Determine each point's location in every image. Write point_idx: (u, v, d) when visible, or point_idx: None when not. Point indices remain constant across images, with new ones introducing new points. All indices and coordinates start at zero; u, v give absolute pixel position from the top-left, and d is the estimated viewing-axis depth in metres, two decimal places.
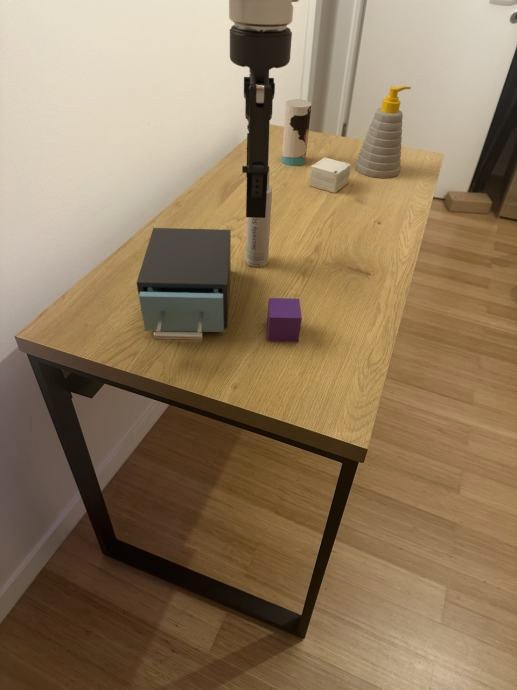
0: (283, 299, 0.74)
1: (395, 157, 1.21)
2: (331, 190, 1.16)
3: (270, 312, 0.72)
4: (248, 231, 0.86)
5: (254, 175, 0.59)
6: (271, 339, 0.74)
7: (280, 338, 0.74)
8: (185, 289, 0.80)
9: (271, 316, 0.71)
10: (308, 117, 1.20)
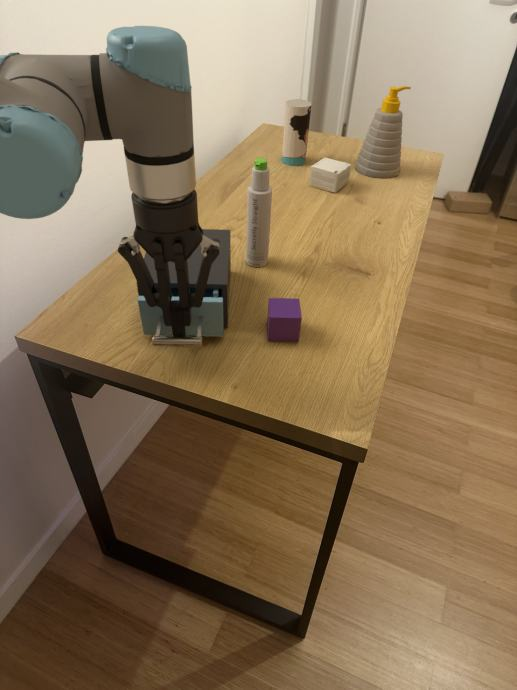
0: (283, 299, 0.74)
1: (395, 157, 1.21)
2: (331, 190, 1.16)
3: (270, 312, 0.72)
4: (248, 231, 0.86)
5: None
6: (271, 339, 0.74)
7: (280, 338, 0.74)
8: None
9: (271, 316, 0.71)
10: (308, 117, 1.20)
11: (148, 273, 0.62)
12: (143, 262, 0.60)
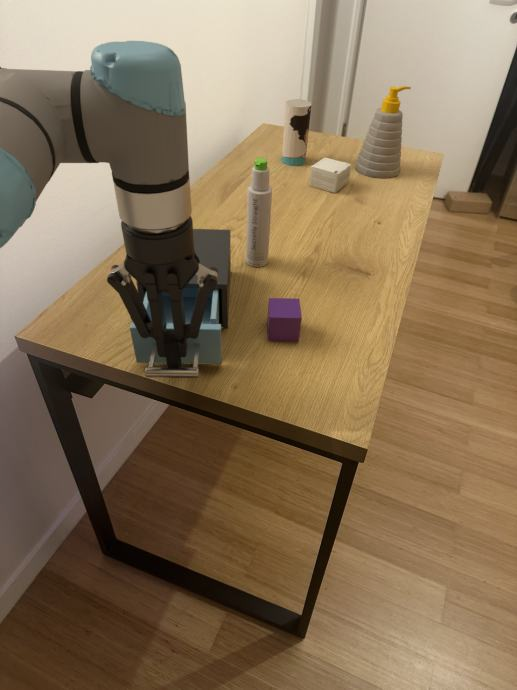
0: (283, 299, 0.74)
1: (395, 157, 1.21)
2: (331, 190, 1.16)
3: (270, 312, 0.72)
4: (248, 231, 0.86)
5: (186, 338, 0.60)
6: (271, 339, 0.74)
7: (280, 338, 0.74)
8: None
9: (271, 316, 0.71)
10: (308, 117, 1.20)
11: (140, 302, 0.57)
12: (135, 291, 0.56)
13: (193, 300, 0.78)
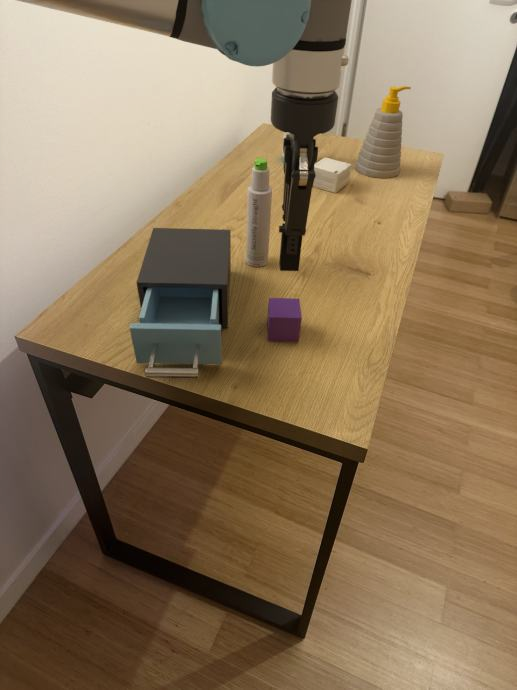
0: (283, 299, 0.74)
1: (395, 157, 1.21)
2: (331, 190, 1.16)
3: (270, 312, 0.72)
4: (248, 231, 0.86)
5: (290, 235, 0.62)
6: (271, 339, 0.74)
7: (280, 338, 0.74)
8: (180, 316, 0.75)
9: (271, 316, 0.71)
10: None
11: None
12: None
13: (193, 300, 0.78)
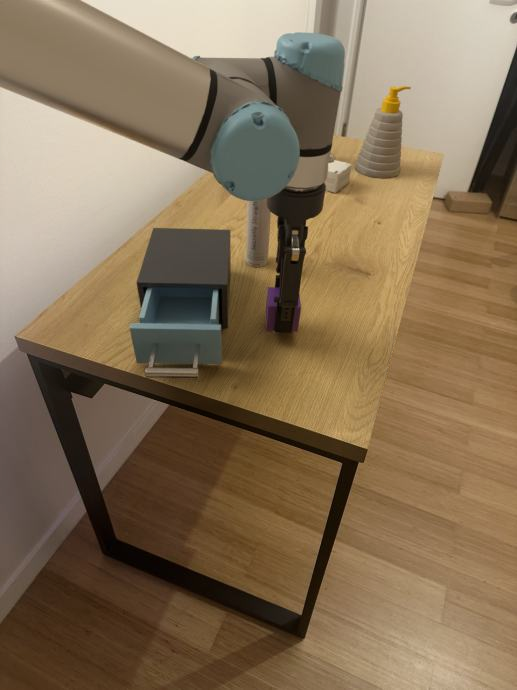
0: None
1: (395, 157, 1.21)
2: (332, 190, 1.16)
3: (269, 301, 0.70)
4: (248, 231, 0.86)
5: None
6: (270, 329, 0.73)
7: None
8: (180, 316, 0.75)
9: (270, 305, 0.70)
10: None
11: None
12: None
13: (193, 300, 0.78)
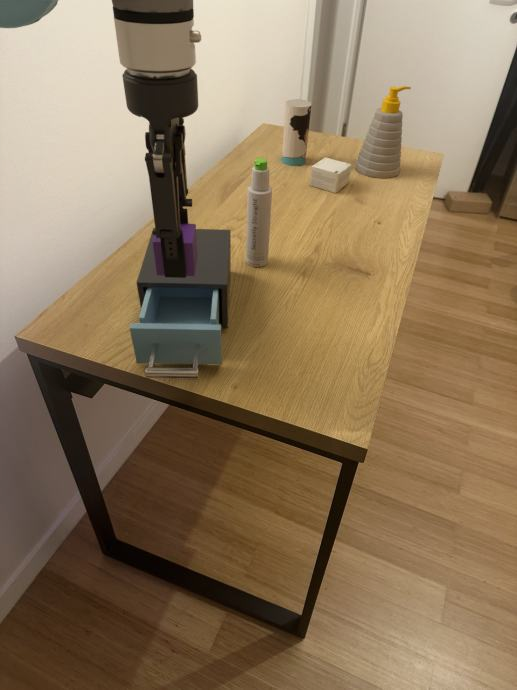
0: None
1: (395, 157, 1.21)
2: (332, 190, 1.16)
3: (154, 236, 0.58)
4: (248, 231, 0.86)
5: (166, 238, 0.55)
6: (160, 273, 0.61)
7: None
8: (180, 316, 0.75)
9: (154, 241, 0.58)
10: (308, 117, 1.20)
11: None
12: None
13: (193, 300, 0.78)
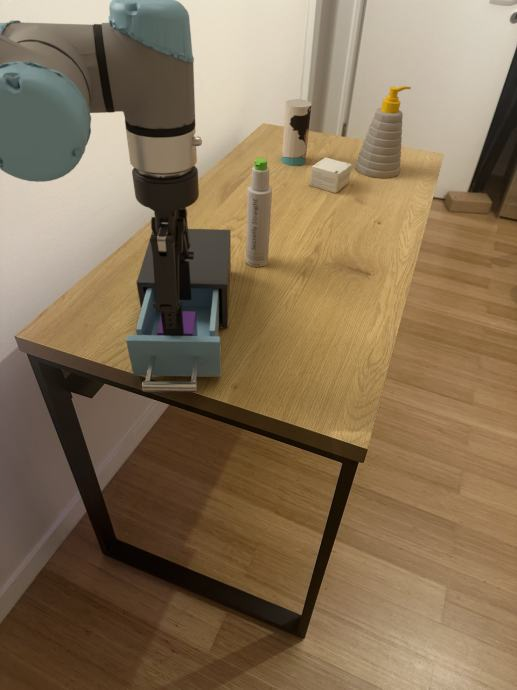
0: None
1: (395, 157, 1.21)
2: (332, 190, 1.16)
3: (159, 327, 0.65)
4: (248, 231, 0.86)
5: None
6: None
7: None
8: None
9: (159, 332, 0.64)
10: (308, 117, 1.20)
11: None
12: None
13: (192, 310, 0.76)
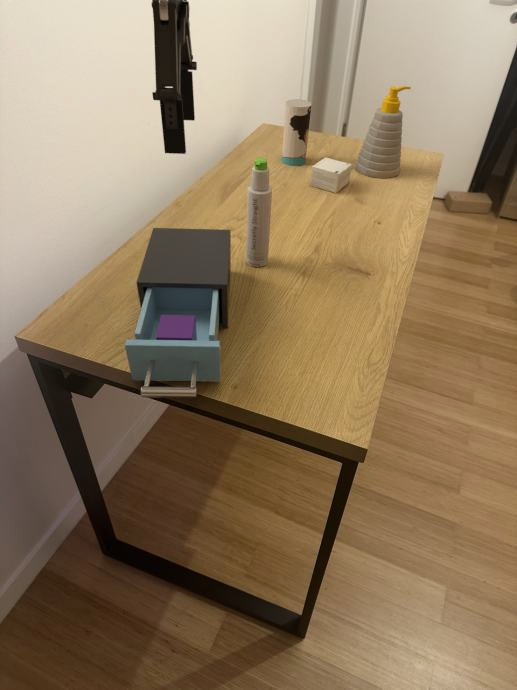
0: (177, 316, 0.67)
1: (395, 157, 1.21)
2: (332, 190, 1.16)
3: (158, 331, 0.64)
4: (248, 231, 0.86)
5: (166, 102, 0.56)
6: None
7: None
8: None
9: (158, 336, 0.64)
10: (308, 117, 1.20)
11: None
12: None
13: (191, 313, 0.75)
